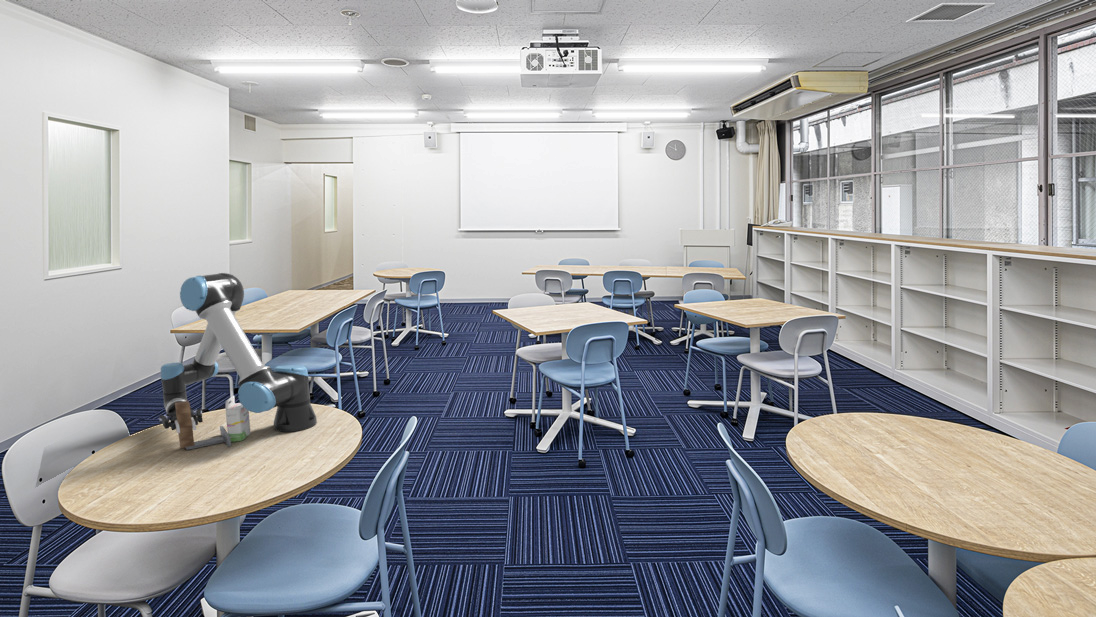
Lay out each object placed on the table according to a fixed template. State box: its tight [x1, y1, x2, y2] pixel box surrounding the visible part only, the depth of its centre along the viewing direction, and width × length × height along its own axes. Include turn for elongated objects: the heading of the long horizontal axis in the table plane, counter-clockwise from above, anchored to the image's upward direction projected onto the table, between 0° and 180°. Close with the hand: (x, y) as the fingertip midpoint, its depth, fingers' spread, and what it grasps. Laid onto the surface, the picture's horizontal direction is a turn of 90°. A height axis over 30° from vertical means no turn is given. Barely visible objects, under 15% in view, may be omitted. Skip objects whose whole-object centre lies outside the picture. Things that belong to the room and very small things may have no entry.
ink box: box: [225, 395, 252, 442], centre depth 224 cm, size 9×5×15 cm, turn 6°
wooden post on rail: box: [175, 400, 232, 451], centre depth 217 cm, size 14×16×16 cm
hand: (186, 427), depth 210 cm, fingers closed on wooden post on rail, 4 cm apart
